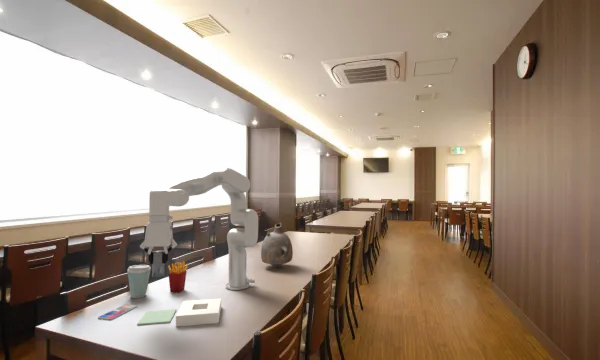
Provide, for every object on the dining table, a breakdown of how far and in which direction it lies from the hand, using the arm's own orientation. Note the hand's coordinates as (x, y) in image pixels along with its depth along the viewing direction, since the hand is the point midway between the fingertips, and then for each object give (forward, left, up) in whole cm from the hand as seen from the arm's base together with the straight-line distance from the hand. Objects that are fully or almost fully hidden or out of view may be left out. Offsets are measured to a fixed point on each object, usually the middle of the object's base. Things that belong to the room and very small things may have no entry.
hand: (158, 262), depth 125 cm
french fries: (-1, -34, -23) cm, 41 cm away
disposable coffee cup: (+16, -29, -23) cm, 40 cm away
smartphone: (+18, -9, -23) cm, 31 cm away
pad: (0, 0, -23) cm, 23 cm away
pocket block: (-17, +2, -23) cm, 28 cm away
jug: (-58, -70, -23) cm, 94 cm away
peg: (0, 0, -5) cm, 5 cm away
